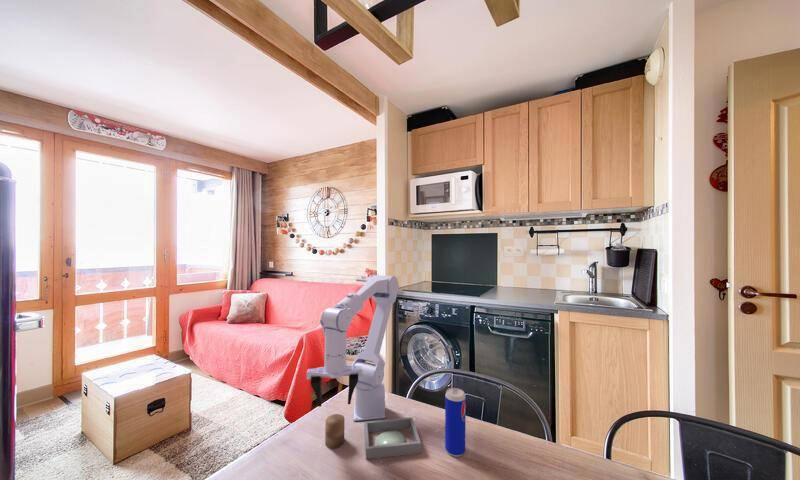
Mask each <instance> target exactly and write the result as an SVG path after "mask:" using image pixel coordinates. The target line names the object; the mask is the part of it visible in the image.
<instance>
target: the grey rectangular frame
mask: <svg viewBox="0 0 800 480" xmlns="http://www.w3.org/2000/svg"><path fill="white" fill-rule="evenodd" d="M415 424H416V423H415V422H414V418H413V417H412V416H411V417H401V418H389V419H377V420H366V421H364V425H363V427H364V428H363V430H364V431H363V432H364V445H365V447H364V448H365V449H364V450H365V451H364V452H365V460H371V459H377V458H378V459H380V458H387V457H388V458H389V457H395V456H397V457H398V456H405V455H414V454H415V455H416V454H421V453H422V443H421V439H420V436H419V432H418V430H417V427H416V425H415ZM402 429H410V432H411V435H412V439H413V441H407V442H406V441H405V443H396V444H387V445H378V444H377V445H371V446H370V443H369V442H370V441H369V433H372V432H384V431H391V430H392V431H394V430H402Z"/></svg>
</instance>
